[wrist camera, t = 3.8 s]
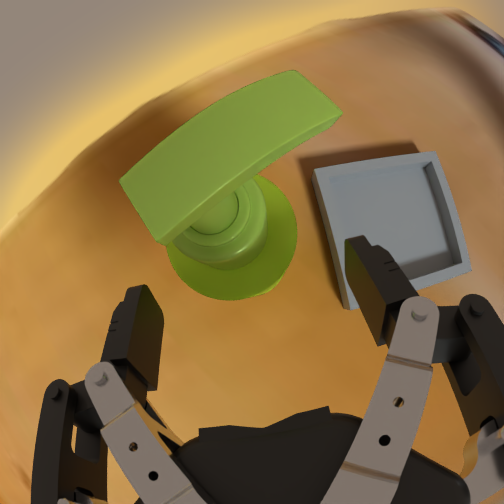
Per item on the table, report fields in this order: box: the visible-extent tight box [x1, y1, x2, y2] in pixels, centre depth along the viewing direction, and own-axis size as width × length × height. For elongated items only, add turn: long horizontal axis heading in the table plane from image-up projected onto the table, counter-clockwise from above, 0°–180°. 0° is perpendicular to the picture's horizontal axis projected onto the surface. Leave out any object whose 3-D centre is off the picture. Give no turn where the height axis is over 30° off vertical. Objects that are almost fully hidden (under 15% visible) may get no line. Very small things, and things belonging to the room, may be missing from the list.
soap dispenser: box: [119, 70, 343, 300], centre depth 16 cm, size 6×7×20 cm
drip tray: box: [311, 151, 472, 310], centre depth 24 cm, size 13×12×2 cm
